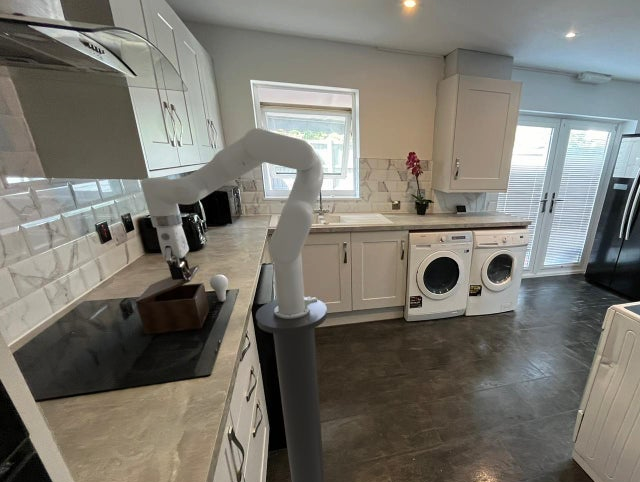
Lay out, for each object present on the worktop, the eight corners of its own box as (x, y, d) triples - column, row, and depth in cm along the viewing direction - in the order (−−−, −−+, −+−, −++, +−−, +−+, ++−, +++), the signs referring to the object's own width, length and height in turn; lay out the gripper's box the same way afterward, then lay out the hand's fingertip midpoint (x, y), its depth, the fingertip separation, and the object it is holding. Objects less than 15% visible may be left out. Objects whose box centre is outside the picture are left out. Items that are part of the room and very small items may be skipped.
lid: (199, 267, 112) (190, 254, 110) (190, 281, 100) (179, 267, 98) (152, 286, 110) (141, 273, 107) (136, 304, 98) (124, 290, 95)
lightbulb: (232, 297, 129) (228, 271, 125) (230, 303, 124) (225, 277, 119) (215, 298, 127) (210, 272, 123) (212, 305, 122) (206, 278, 118)
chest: (209, 310, 119) (203, 283, 114) (201, 328, 107) (194, 299, 103) (159, 314, 114) (151, 286, 110) (145, 334, 102) (136, 304, 98)
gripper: (173, 226, 91) (188, 284, 99) (188, 214, 106) (200, 265, 114) (141, 227, 89) (159, 286, 96) (161, 215, 104) (175, 267, 111)
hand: (181, 274), depth 105 cm, fingers closed on lid, 6 cm apart
